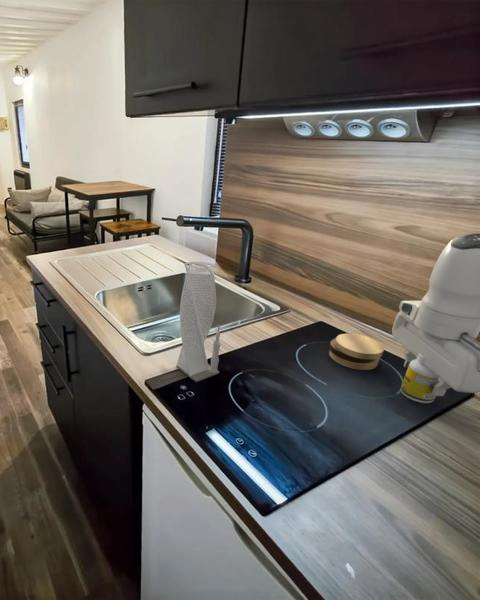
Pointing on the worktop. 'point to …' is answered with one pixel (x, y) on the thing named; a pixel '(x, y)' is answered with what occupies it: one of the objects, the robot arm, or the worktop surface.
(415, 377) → the supplement bottle
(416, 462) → the worktop surface
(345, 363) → the coaster pile
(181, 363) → the skyscraper
